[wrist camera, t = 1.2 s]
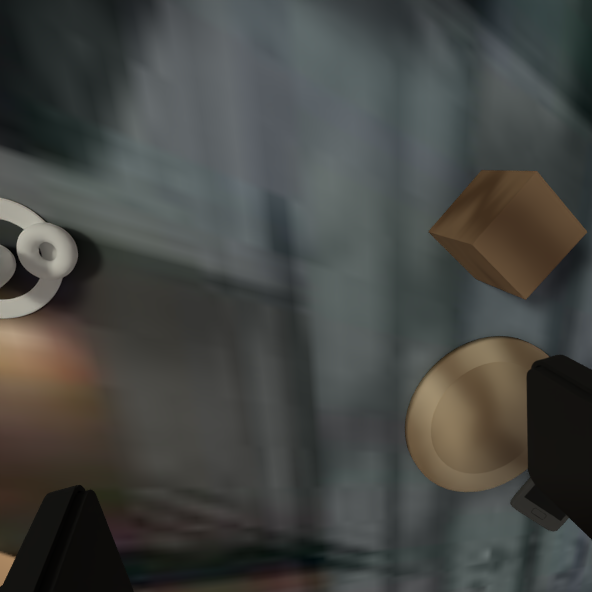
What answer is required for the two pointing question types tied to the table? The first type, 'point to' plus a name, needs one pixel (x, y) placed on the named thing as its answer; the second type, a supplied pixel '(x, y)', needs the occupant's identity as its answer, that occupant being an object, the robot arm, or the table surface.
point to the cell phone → (538, 507)
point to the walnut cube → (508, 230)
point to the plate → (473, 415)
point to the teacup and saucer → (35, 258)
